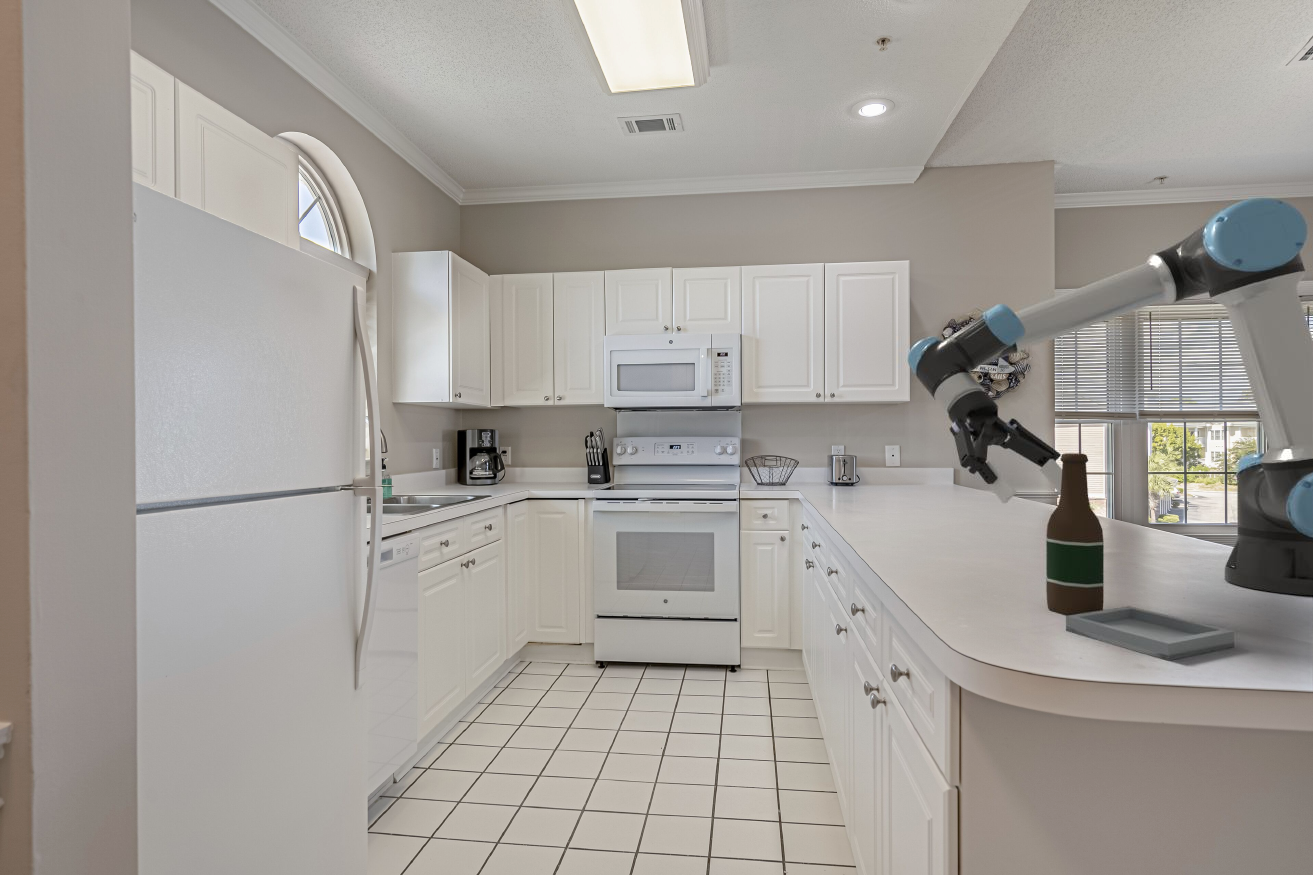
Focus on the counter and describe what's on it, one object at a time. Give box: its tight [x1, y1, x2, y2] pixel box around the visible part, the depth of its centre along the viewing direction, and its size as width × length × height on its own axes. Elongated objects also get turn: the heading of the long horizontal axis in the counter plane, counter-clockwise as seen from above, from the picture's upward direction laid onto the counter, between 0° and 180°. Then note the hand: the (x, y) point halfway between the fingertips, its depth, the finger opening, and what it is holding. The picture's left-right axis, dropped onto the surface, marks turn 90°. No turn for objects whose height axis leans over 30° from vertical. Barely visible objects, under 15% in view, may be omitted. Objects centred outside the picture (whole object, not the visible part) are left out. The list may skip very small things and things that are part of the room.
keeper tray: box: [1065, 606, 1235, 661], centre depth 88 cm, size 13×13×2 cm
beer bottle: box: [1045, 452, 1105, 616], centre depth 101 cm, size 8×8×24 cm
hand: (1041, 496), depth 105 cm, fingers open, 13 cm apart
